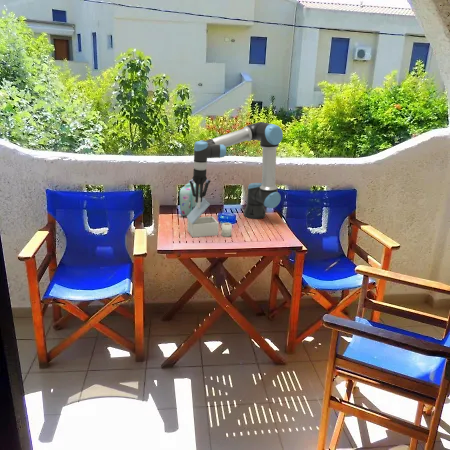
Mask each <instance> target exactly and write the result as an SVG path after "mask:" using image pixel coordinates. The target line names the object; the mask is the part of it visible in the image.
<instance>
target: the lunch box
mask: <svg viewBox="0 0 450 450" xmlns="http://www.w3.org/2000/svg"><path fill="white" fill-rule="evenodd" d="M193 186H194V190H195V193H196V183H195V182H194V181H193ZM199 195H200V185H199ZM195 200H196V197H194V196H193V195H192V190H191V185H190V183H189V182H188V183H186V184H184V186H182V187H181V188H180V190H179V210H180V211H179V212H180V215H181V216H182V217H187V216H188V215H189V213H190V212H191V211H192V210H193V209H194V208H195V207H196V205H197V203H196V201H195Z"/></svg>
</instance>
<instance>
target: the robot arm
mask: <svg viewBox="0 0 450 450" xmlns="http://www.w3.org/2000/svg"><path fill="white" fill-rule="evenodd" d="M283 134H284V133H283V130H282V128H281V127H280V126H279V125H277V124H275V123H274V124H273V123H268V122H264V121H259V122H255V123H252V124H249V125H246V126H244V127H243V128H242V129H239V130H238V129H237V130H235V131H231V132H229V133H225V134H223V135H220V136H217V137H214V138H210V139H207V140H204V139H201V140H199V141H195V143H194V148H193V173H192V174H193V175H192V179H189V180H188V183H190V185H191V190H192V195H193V196H194V197H196V200H195V201H196V203H197V208H200V202H202V198H204V197H206V194H207V193H208V192H207V191H208V188H209V185H210V183H211V180H210V179H208V178H207V168H208V167H207V165H208V159H220V158H224V157H226V154H227V147H231V146H234V145H237V144H240V143H243V142H246V141H247V142H252V141H259V143H260V144H259V145H260V146H259V147H260V148H262V149H261V150H262V162H261V163H262V166H261V167H262V169H261V170H262V172H261V173H262V174H261V182H251V183H249V184H248V187H247V199H246V200H247V202H246V206H245V207H244V211H243V216H244V217H245V218H247V219H253V220H258V219H259V220H260V219H261V220H262V219H264V218H265V217H266V209H265V208H268V209H274V208H277V207H278V205H279V204H280V202H281V201H282V199H281V198H282V197H281V194H280V192H278V186H277V185H276V177H277V176H276V175H277V173H276V172H277V171H276V170H277V168H276V166H277V148H278V147H279V146H280V143H281V142H282V140H283V137H284V135H283ZM193 182H195V183H196V193H195V190H194V186H193ZM199 185H200V195H199Z"/></svg>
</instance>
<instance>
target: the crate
mask: <svg viewBox="0 0 450 450" xmlns="http://www.w3.org/2000/svg"><path fill="white" fill-rule="evenodd" d="M219 223H220V222H219V221H217V219H216V218H215V217H214V216H200V217H199V218H198V219H197V220H196V221H195V223H194V224H192V223H191V222H190V220H189V219H188V218H187V228H186V229H187V231H188V233H189V235H190V236H191V238H201V237H212V236H213V237H214V236H219Z"/></svg>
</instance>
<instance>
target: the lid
mask: <svg viewBox="0 0 450 450" xmlns="http://www.w3.org/2000/svg"><path fill="white" fill-rule="evenodd" d="M210 205H211V204H210V202H209V201H207V199H206V198H205V197H203V198H202V202H200V208H197V205H196V207H195V208H194V209H193V210H192V211H191V212H190V213H189V215H188V216H186V218H187V220H188V219H189V220H190V222H191V223H192V224H194V223H195V221H196V220H197V219H198V218H199V217H202V215H203V213H205V211H206V210H207V209H208V207H210Z"/></svg>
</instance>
